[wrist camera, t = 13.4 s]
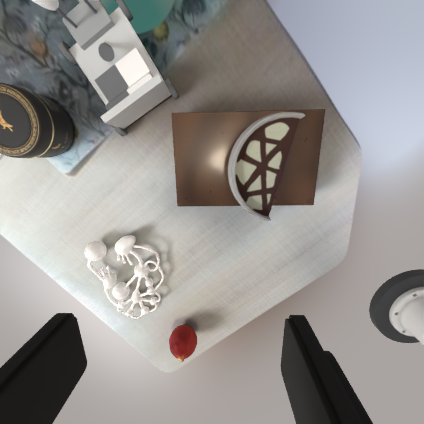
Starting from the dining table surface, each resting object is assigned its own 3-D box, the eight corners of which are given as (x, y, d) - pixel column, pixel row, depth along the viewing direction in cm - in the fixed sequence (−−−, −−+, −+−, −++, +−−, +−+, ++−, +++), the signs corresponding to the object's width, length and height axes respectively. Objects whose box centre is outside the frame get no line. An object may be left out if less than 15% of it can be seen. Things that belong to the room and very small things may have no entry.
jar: (62, 169, 37) (24, 172, 30) (12, 134, 36) (-41, 128, 29) (87, 122, 35) (53, 113, 28) (35, 83, 34) (-17, 63, 26)
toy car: (-12, -19, 22) (64, -97, 20) (56, 33, 32) (113, -17, 30) (93, 130, 26) (166, 76, 24) (126, 137, 36) (180, 98, 34)
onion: (174, 336, 47) (166, 372, 40) (172, 316, 46) (163, 349, 38) (199, 336, 47) (195, 372, 39) (197, 316, 45) (193, 349, 38)
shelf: (308, 116, 34) (325, 109, 29) (300, 198, 38) (313, 205, 32) (178, 119, 35) (171, 112, 29) (183, 199, 38) (177, 206, 33)
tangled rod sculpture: (176, 304, 46) (174, 318, 42) (115, 316, 46) (107, 332, 42) (154, 226, 41) (149, 234, 37) (83, 240, 41) (71, 250, 37)
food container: (237, 114, 29) (246, 93, 19) (278, 124, 29) (307, 108, 20) (217, 195, 32) (216, 212, 23) (254, 204, 33) (269, 225, 23)
